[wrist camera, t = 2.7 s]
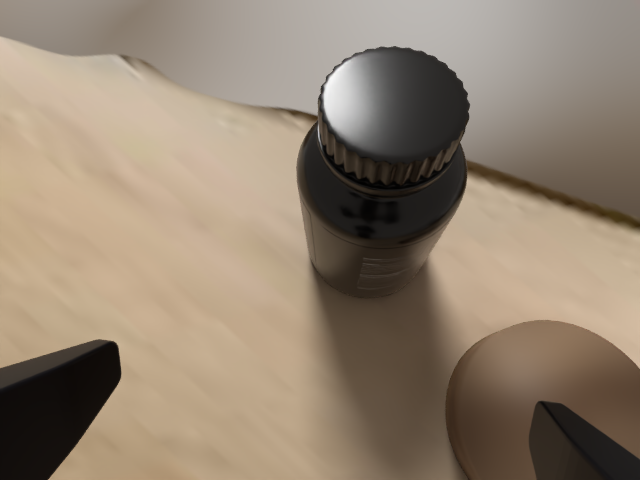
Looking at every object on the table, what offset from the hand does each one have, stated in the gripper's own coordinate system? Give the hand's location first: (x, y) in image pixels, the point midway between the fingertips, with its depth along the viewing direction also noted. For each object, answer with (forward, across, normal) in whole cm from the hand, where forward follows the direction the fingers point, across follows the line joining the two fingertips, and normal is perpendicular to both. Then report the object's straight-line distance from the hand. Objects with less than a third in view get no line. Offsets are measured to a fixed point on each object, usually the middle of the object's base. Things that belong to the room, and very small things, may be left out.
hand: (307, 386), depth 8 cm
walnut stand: (+11, -9, +8) cm, 17 cm away
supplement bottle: (+16, 0, +1) cm, 16 cm away
